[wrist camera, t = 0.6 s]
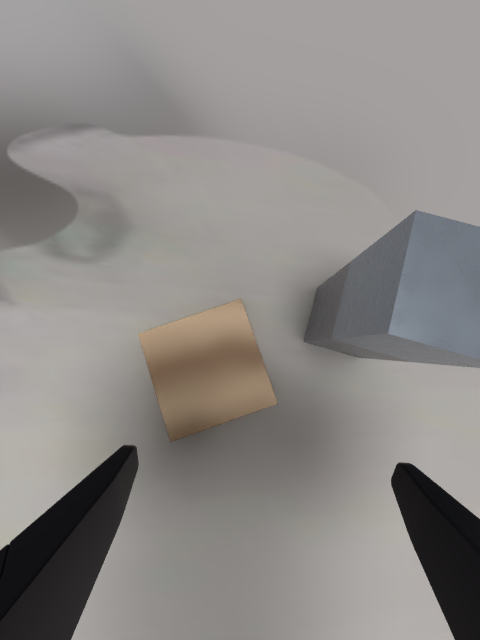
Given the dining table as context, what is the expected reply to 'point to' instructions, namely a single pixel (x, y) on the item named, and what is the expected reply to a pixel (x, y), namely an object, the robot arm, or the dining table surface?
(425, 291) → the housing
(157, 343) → the cork pad
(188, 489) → the dining table surface
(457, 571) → the robot arm
